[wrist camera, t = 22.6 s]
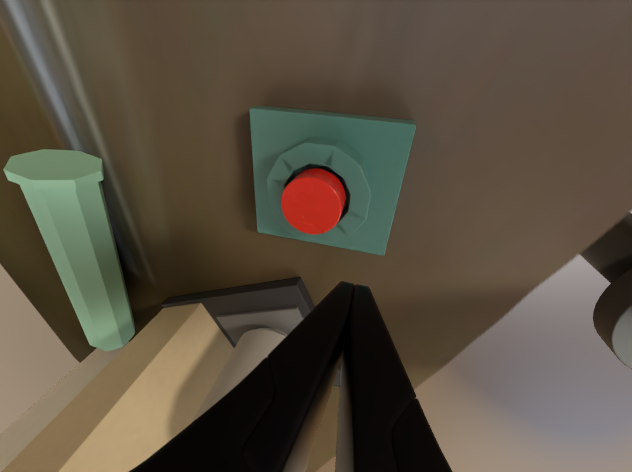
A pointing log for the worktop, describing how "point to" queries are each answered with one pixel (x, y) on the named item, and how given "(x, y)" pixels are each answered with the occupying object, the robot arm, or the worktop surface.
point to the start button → (313, 201)
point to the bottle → (51, 405)
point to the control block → (331, 170)
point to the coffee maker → (160, 379)
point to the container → (78, 238)
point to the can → (242, 362)
